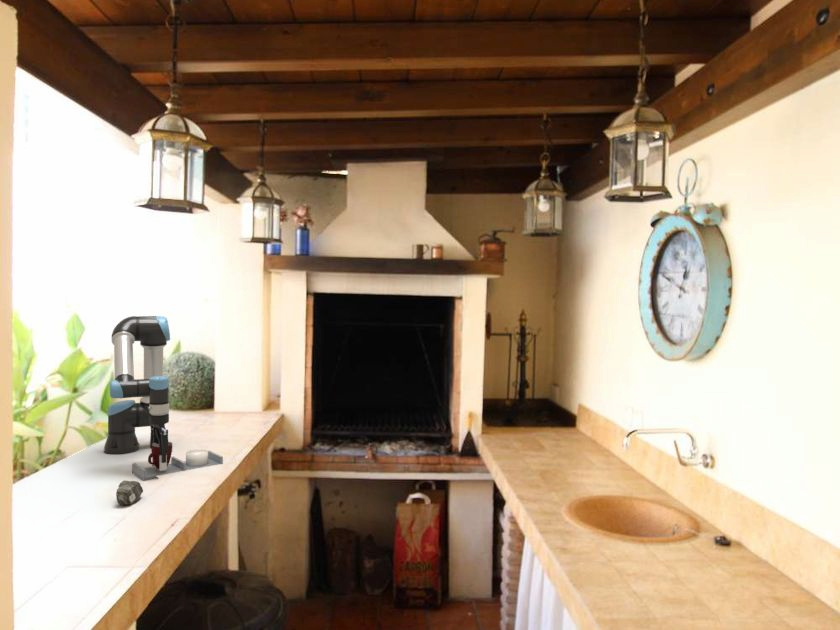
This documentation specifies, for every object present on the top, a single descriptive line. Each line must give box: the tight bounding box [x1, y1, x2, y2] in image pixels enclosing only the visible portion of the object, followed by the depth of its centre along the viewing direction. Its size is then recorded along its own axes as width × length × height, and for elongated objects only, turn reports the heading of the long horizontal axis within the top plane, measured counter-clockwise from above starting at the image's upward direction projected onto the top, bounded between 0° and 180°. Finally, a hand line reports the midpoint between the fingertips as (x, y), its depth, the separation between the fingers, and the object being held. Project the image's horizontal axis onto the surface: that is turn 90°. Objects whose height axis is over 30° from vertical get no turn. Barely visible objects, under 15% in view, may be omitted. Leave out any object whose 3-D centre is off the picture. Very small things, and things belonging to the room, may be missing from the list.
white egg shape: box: [185, 449, 209, 466], centre depth 268 cm, size 9×9×5 cm
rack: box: [131, 450, 224, 482], centre depth 263 cm, size 14×33×4 cm, turn 132°
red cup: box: [147, 441, 173, 469], centre depth 257 cm, size 11×8×10 cm
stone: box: [115, 480, 144, 507], centre depth 223 cm, size 14×7×10 cm, turn 18°
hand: (159, 467), depth 257 cm, fingers closed on red cup, 8 cm apart
